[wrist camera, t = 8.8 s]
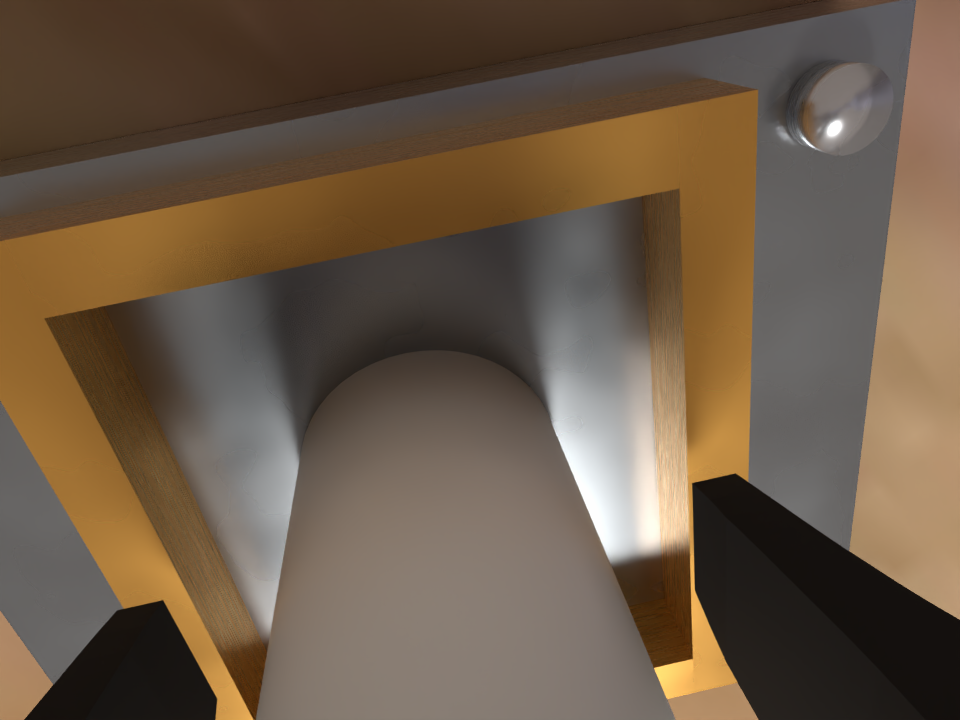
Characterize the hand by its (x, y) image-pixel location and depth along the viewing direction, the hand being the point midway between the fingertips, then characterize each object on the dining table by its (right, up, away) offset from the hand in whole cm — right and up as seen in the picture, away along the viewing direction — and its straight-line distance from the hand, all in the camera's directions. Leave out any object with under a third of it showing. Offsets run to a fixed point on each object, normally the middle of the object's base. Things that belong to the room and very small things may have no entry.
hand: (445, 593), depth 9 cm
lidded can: (0, +1, +2) cm, 3 cm away
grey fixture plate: (-1, +2, +4) cm, 5 cm away
